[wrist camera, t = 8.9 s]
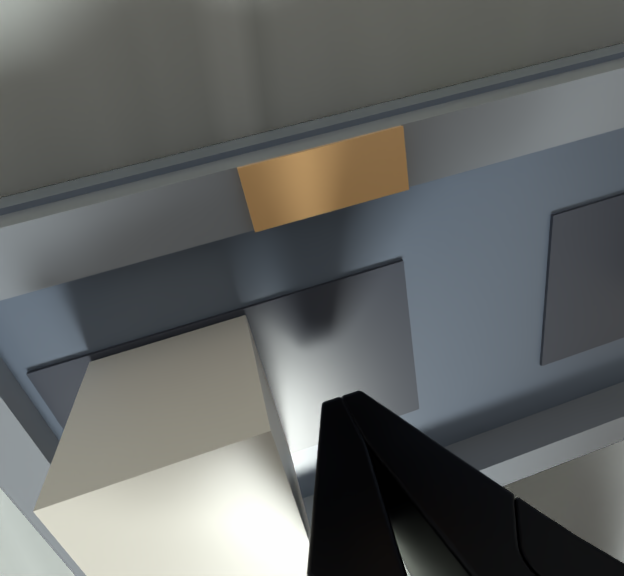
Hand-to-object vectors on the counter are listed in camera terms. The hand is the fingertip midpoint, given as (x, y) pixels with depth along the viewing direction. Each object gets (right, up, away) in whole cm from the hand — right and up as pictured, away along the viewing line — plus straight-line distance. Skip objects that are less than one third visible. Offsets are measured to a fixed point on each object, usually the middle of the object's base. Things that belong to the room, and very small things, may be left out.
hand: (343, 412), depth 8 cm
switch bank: (+8, +4, +3) cm, 10 cm away
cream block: (-3, 0, +1) cm, 3 cm away
